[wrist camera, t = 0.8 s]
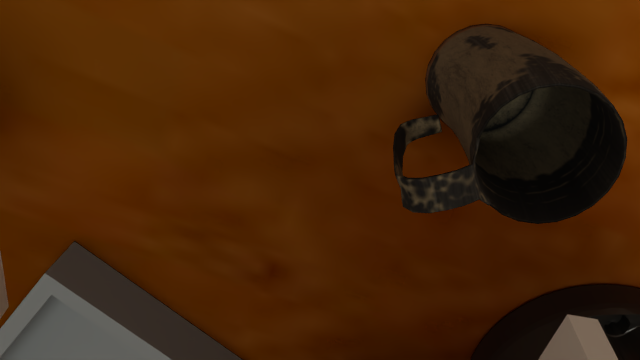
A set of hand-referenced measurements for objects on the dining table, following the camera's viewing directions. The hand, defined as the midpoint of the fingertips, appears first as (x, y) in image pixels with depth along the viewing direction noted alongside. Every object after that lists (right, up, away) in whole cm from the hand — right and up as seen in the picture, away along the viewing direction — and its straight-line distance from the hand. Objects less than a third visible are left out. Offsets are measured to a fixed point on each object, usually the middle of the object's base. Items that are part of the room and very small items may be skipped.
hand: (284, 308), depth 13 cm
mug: (+8, +8, +16) cm, 19 cm away
